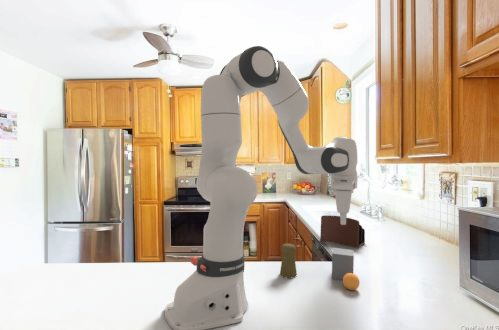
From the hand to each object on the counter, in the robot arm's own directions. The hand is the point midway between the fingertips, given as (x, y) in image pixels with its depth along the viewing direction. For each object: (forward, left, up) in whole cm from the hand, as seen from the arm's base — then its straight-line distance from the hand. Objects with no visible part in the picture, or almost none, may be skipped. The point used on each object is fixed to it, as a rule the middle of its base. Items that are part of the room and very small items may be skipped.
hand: (343, 221), depth 97 cm
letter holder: (+35, +29, -20) cm, 50 cm away
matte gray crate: (0, 0, -20) cm, 20 cm away
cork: (-16, +11, -20) cm, 28 cm away
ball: (-6, -8, -17) cm, 20 cm away
